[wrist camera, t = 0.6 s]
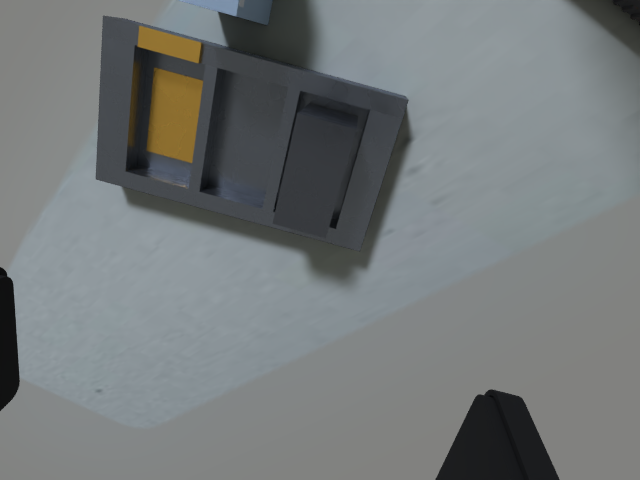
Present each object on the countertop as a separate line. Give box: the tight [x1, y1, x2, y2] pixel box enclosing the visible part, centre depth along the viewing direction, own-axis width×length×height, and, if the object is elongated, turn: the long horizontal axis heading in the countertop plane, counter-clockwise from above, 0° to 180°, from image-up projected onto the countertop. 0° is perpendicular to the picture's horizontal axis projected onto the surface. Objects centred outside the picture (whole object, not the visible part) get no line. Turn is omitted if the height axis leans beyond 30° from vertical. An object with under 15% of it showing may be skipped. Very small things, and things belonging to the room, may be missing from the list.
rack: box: [96, 16, 408, 251], centre depth 30 cm, size 11×20×7 cm, turn 76°
